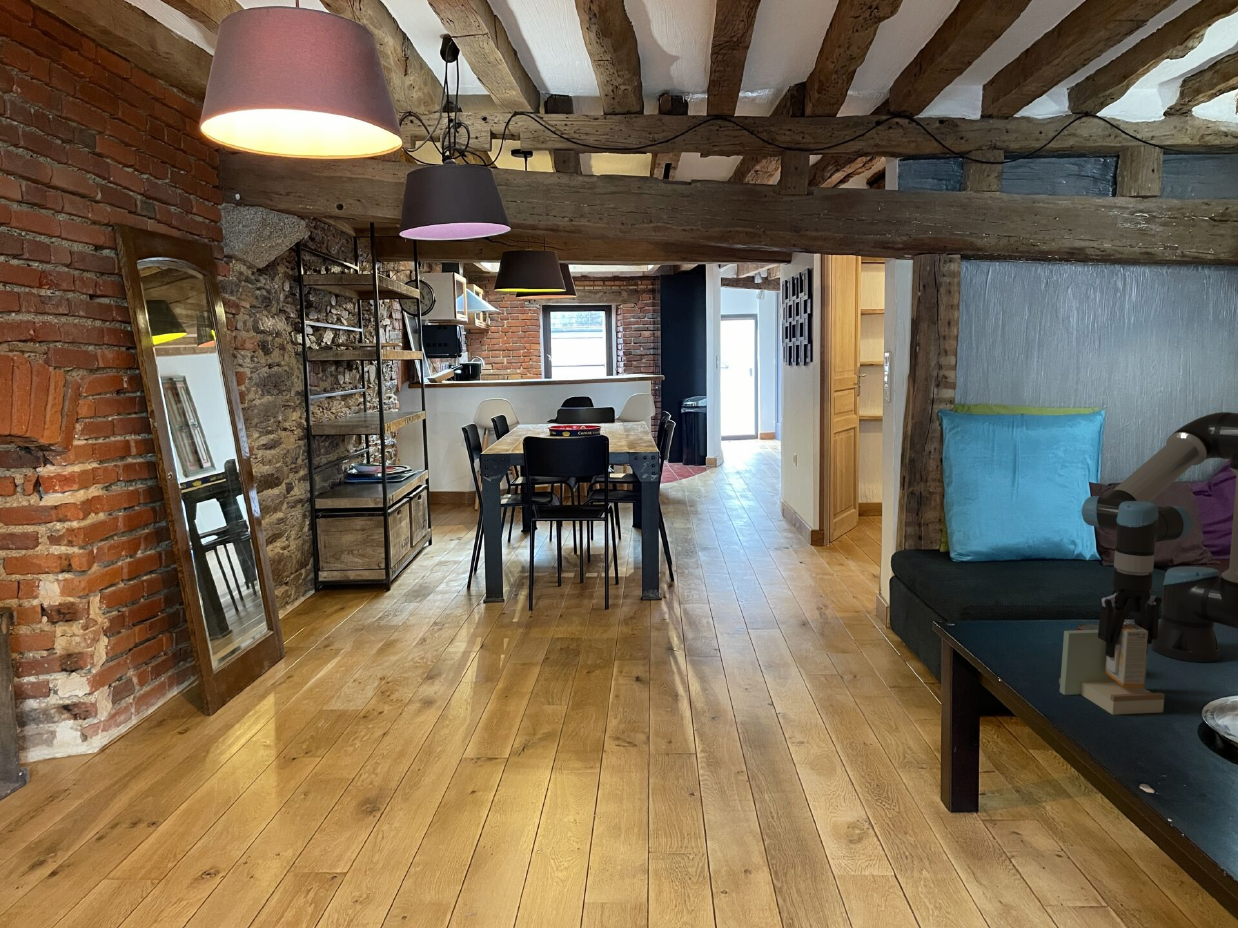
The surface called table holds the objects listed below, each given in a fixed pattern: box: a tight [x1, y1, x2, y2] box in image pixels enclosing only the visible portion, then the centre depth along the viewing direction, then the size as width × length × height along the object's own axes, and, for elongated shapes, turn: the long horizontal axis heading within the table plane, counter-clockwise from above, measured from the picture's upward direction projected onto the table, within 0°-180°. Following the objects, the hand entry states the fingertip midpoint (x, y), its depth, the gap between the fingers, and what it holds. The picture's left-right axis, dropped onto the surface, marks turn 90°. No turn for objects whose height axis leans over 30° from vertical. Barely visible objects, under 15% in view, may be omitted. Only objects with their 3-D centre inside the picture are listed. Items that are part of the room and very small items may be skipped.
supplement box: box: [1105, 619, 1148, 687], centre depth 188 cm, size 8×5×13 cm, turn 176°
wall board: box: [1058, 629, 1166, 716], centre depth 192 cm, size 20×18×15 cm
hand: (1124, 669), depth 188 cm, fingers closed on supplement box, 5 cm apart
